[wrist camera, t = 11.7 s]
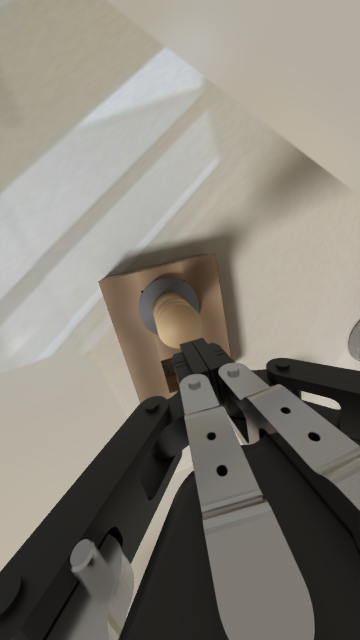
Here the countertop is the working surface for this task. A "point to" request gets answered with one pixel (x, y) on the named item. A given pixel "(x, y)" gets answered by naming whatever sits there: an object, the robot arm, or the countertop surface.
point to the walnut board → (146, 346)
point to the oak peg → (171, 311)
